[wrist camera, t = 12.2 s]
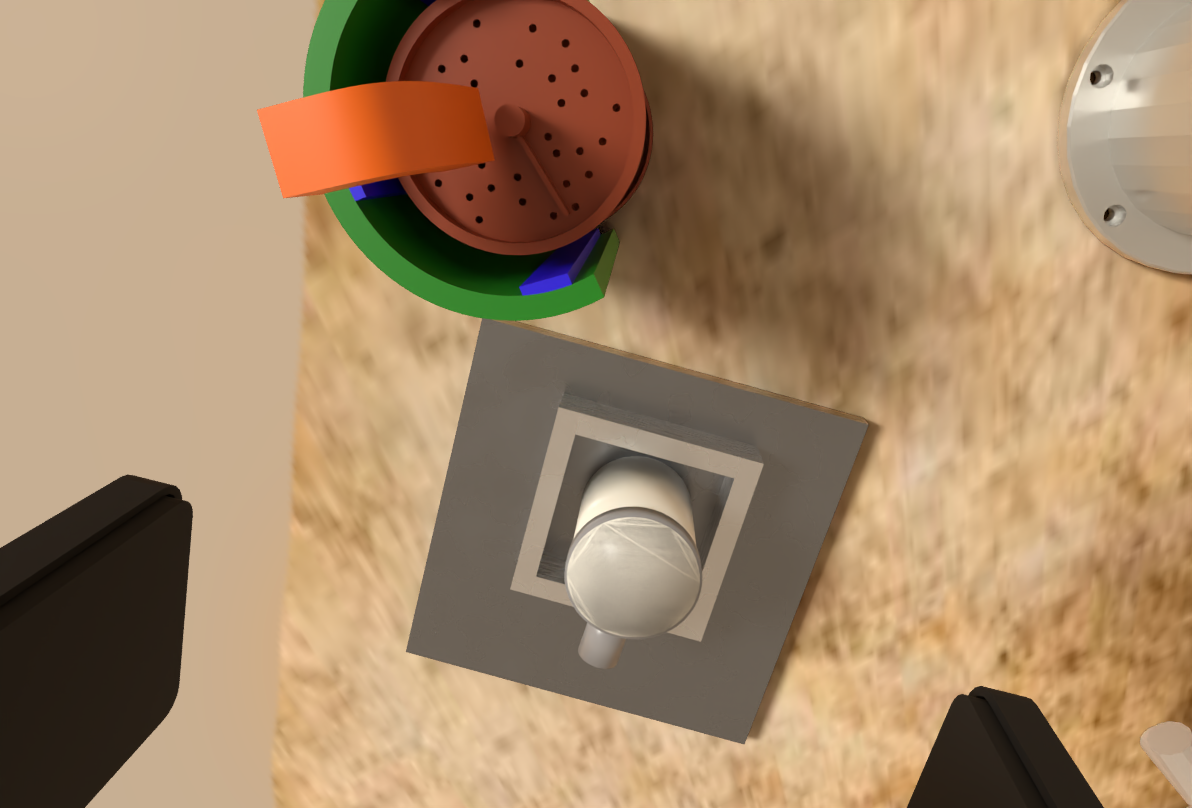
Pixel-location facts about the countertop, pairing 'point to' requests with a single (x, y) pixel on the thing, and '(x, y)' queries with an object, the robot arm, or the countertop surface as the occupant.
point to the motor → (470, 146)
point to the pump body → (632, 557)
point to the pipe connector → (1171, 754)
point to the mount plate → (552, 503)
